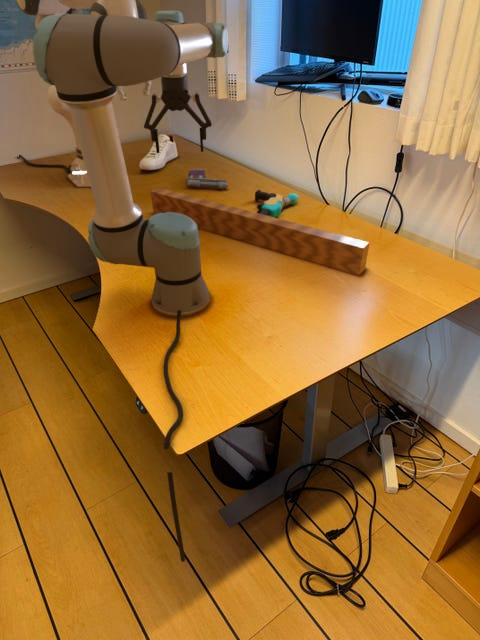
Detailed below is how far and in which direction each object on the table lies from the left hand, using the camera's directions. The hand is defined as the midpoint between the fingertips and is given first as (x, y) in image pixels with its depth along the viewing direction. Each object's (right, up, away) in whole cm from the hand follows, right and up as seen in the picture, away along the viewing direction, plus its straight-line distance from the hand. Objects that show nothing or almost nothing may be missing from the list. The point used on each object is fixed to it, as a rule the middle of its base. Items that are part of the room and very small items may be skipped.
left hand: (135, 97), depth 156 cm
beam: (+37, -47, -1) cm, 60 cm away
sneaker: (-3, -2, +61) cm, 62 cm away
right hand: (+16, -21, -9) cm, 27 cm away
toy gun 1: (+22, -17, +40) cm, 48 cm away
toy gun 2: (+44, -33, +17) cm, 58 cm away
